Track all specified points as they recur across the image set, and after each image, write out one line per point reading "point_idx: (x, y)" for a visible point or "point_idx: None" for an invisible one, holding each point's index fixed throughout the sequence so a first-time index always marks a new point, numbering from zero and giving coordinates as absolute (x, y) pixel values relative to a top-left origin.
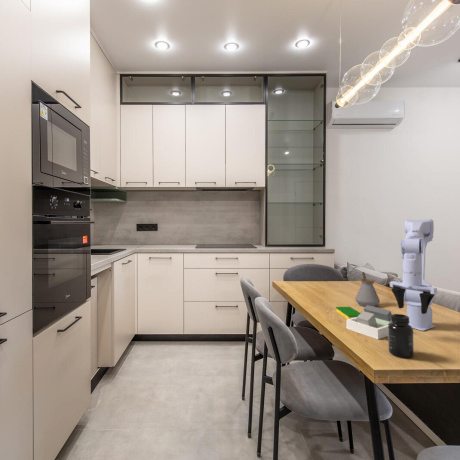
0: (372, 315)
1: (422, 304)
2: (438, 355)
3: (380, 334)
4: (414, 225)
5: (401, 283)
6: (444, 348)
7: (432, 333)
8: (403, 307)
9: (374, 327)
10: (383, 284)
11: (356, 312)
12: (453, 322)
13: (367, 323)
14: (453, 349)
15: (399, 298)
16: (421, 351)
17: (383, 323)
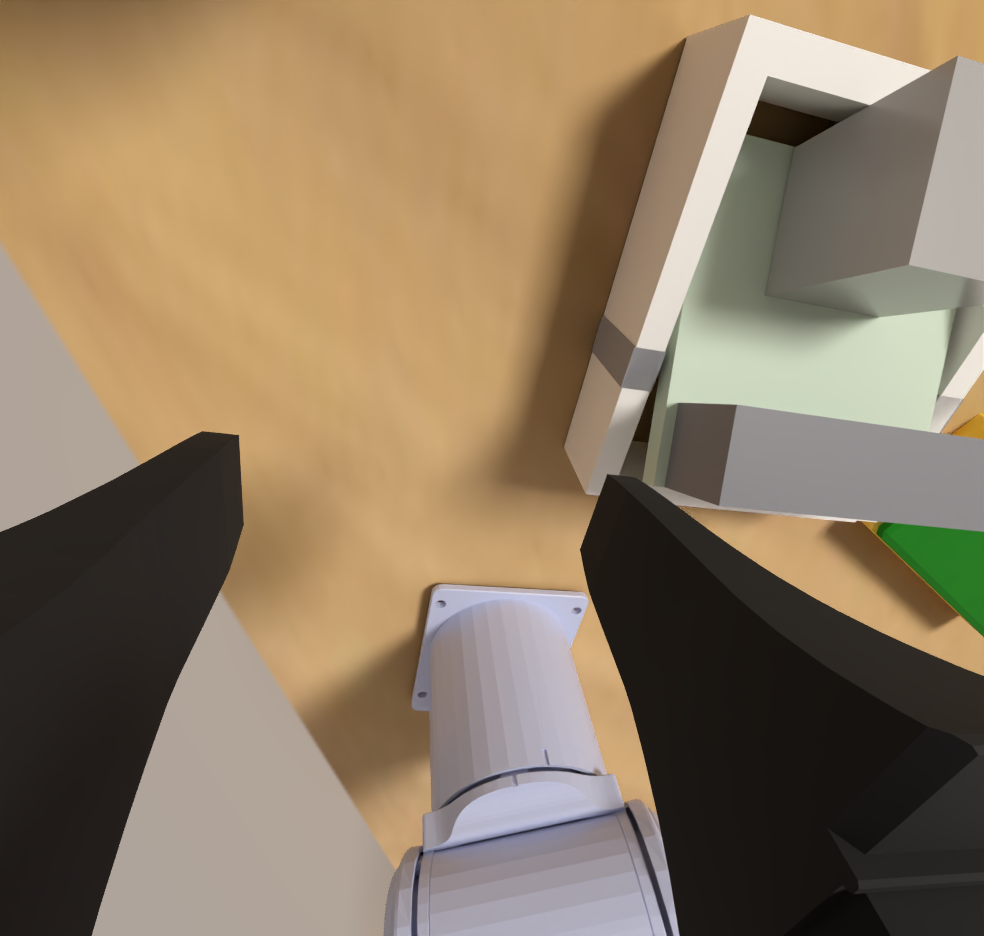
0: (922, 222)
1: (106, 519)
2: (51, 50)
3: (689, 93)
4: None
5: None
6: (148, 331)
7: (374, 589)
8: (581, 550)
9: (782, 234)
10: None
11: (945, 554)
12: (371, 815)
13: (912, 90)
14: (94, 367)
15: (702, 594)
16: (217, 28)
17: (717, 350)
